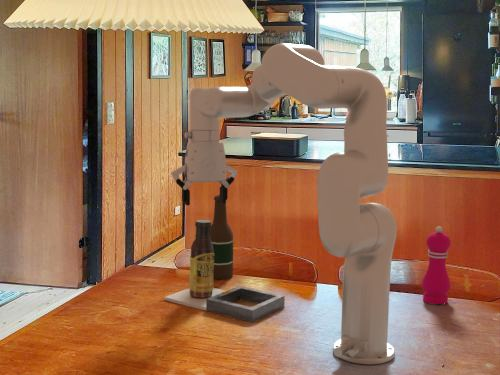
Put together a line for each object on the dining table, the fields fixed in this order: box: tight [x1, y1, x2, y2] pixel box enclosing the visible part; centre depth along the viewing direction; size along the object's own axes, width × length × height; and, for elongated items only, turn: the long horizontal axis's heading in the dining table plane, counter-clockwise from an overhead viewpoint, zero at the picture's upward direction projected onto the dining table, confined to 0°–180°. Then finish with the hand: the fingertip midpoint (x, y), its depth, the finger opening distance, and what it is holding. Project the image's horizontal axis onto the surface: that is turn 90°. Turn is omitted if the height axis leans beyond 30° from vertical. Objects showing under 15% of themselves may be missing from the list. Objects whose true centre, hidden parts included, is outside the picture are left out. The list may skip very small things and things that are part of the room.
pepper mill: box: [421, 225, 451, 305], centre depth 170 cm, size 7×7×20 cm
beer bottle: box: [210, 194, 234, 281], centre depth 190 cm, size 8×8×24 cm
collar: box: [205, 285, 286, 323], centre depth 163 cm, size 14×14×3 cm
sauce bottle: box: [188, 219, 214, 298], centre depth 170 cm, size 7×6×20 cm
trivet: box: [163, 287, 226, 311], centre depth 172 cm, size 14×14×1 cm
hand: (204, 203), depth 168 cm, fingers open, 9 cm apart
